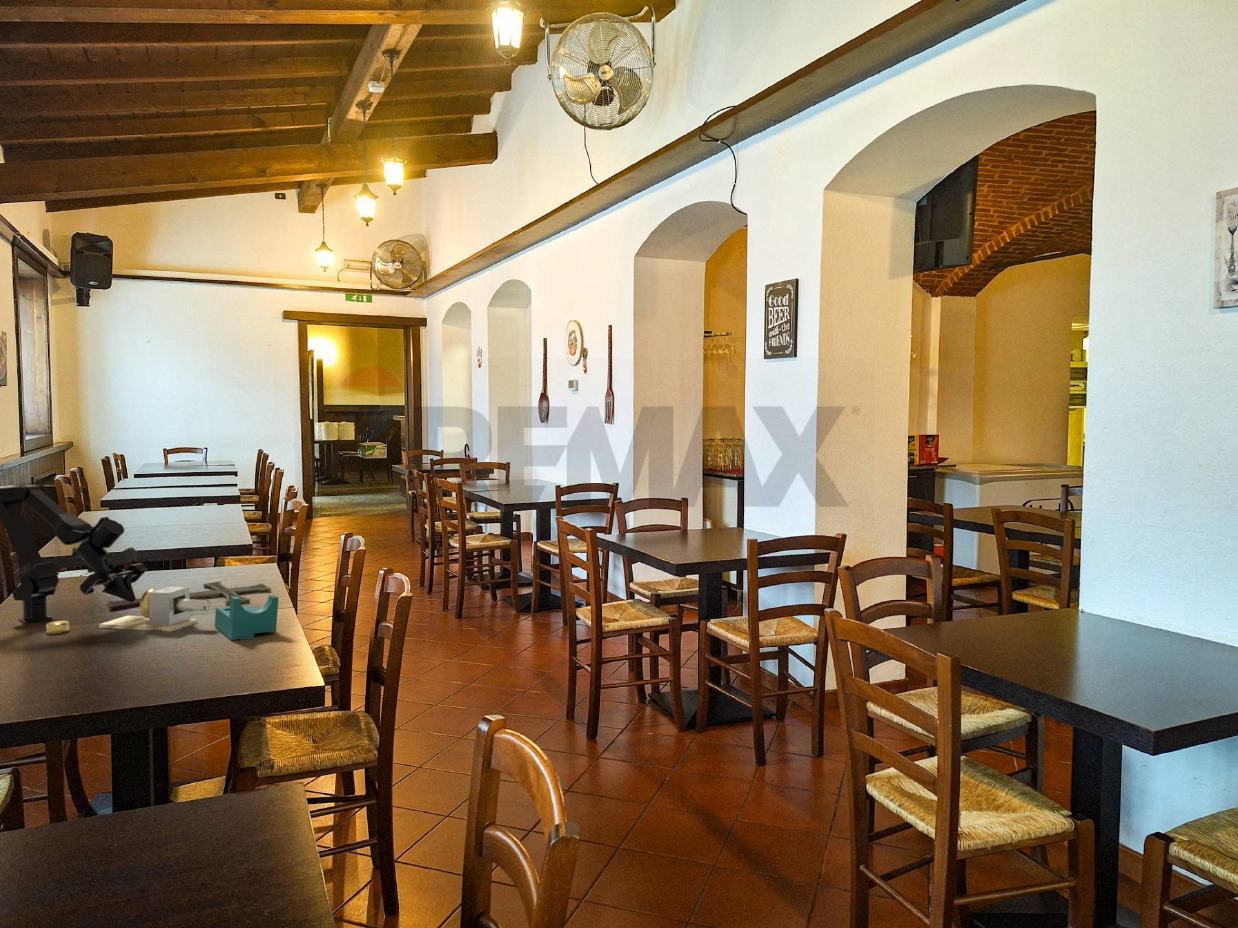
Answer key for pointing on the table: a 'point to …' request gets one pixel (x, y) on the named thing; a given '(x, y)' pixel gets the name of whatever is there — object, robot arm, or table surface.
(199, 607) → the shaft
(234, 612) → the teal saddle bracket
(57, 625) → the spacer
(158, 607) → the bearing block
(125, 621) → the board
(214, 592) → the cross
